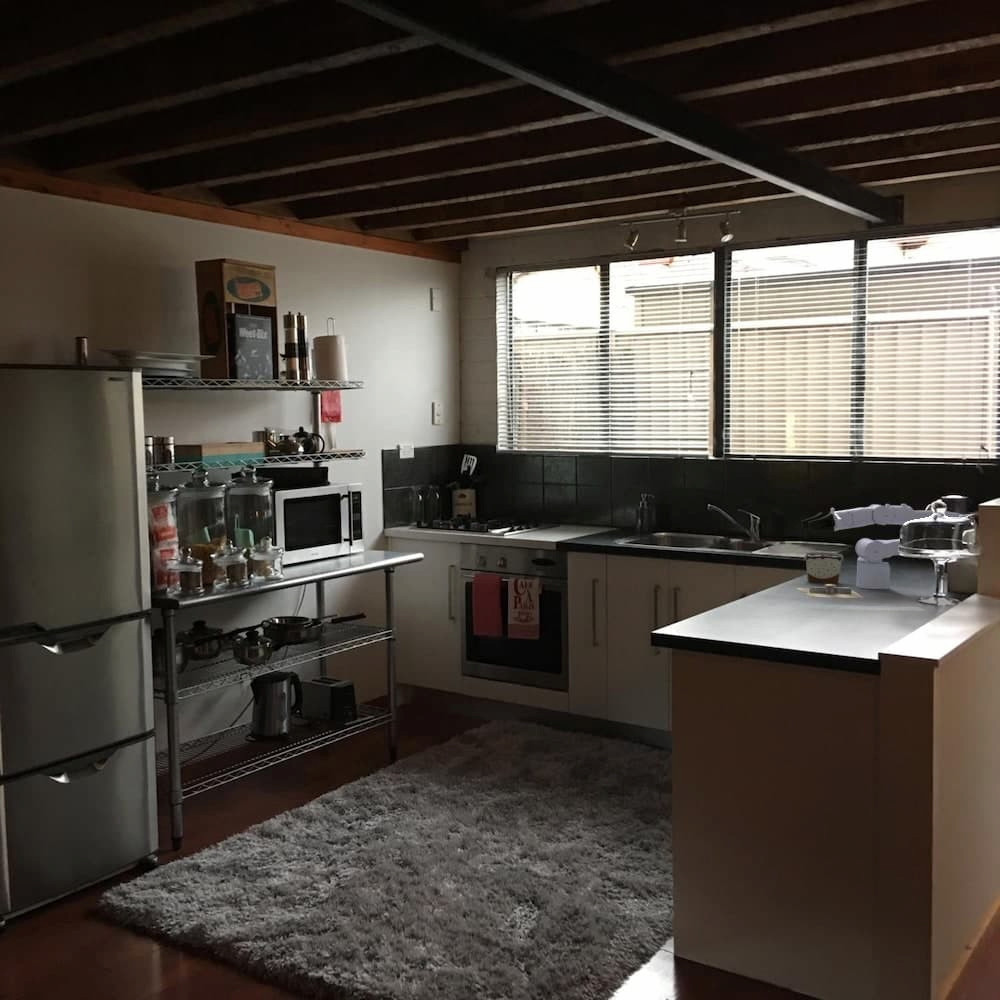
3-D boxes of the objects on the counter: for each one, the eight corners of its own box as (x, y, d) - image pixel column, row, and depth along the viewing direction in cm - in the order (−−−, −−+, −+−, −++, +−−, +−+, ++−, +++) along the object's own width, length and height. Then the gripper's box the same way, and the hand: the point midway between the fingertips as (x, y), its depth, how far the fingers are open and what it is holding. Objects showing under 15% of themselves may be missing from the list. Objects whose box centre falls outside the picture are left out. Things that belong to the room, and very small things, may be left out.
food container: (838, 583, 347) (840, 552, 347) (843, 586, 341) (844, 554, 341) (799, 582, 349) (800, 551, 348) (803, 585, 343) (804, 553, 342)
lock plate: (849, 592, 330) (850, 581, 330) (864, 601, 314) (865, 589, 314) (796, 591, 331) (797, 580, 330) (809, 600, 315) (809, 588, 314)
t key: (848, 592, 324) (848, 586, 324) (852, 594, 320) (852, 589, 320) (808, 591, 324) (808, 586, 324) (811, 593, 320) (811, 588, 320)
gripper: (840, 505, 340) (797, 511, 340) (855, 506, 325) (810, 513, 325) (843, 527, 340) (800, 533, 340) (858, 529, 326) (813, 536, 326)
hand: (805, 525), depth 333 cm, fingers open, 7 cm apart
